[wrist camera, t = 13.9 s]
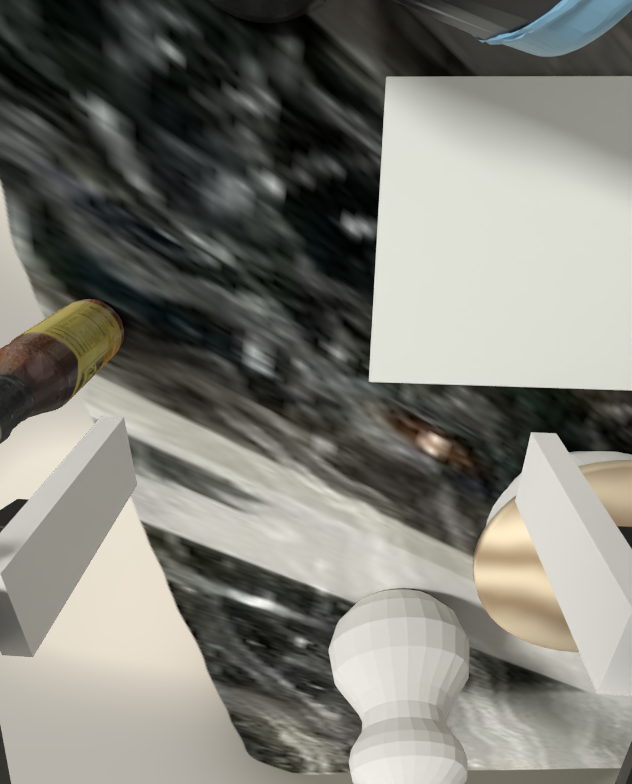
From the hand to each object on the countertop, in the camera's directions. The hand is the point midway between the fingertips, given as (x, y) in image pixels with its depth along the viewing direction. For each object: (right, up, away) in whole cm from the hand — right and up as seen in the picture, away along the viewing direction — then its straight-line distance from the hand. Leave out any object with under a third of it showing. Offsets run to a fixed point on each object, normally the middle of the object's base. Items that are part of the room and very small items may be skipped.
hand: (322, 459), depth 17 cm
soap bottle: (+10, -26, +50) cm, 57 cm away
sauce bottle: (-22, +9, +34) cm, 42 cm away
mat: (+18, +15, +28) cm, 36 cm away
